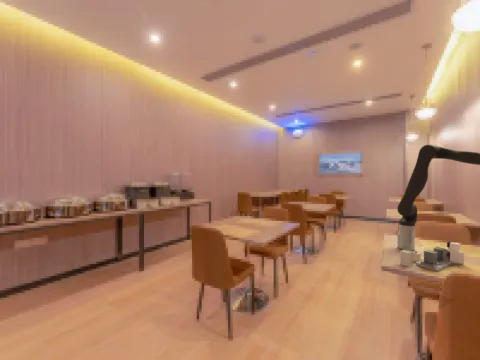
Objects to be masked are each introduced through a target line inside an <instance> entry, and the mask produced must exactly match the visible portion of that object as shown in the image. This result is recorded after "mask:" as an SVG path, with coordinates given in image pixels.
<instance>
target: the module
mask: <svg viewBox="0 0 480 360" xmlns="http://www.w3.org/2000/svg"><path fill="white" fill-rule="evenodd" d="M413 251H414V250H406V249H401V250H400V256H399V257H400V265H403V266H405V267H408V268H410V267H412V266H414V261H413V254H414V252H415V251H414V252H413Z"/></svg>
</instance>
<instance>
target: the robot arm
mask: <svg viewBox="0 0 480 360" xmlns="http://www.w3.org/2000/svg"><path fill="white" fill-rule="evenodd" d="M435 159H437V160H439V159H441V160H442V159H443V160H451V161H455V162H459V163H462V164H463V163H465V164H470V165H478V166H480V152H477V151H472V150H471V151H469V150H461V149H460V150H459V149H457V150H456V149H450V148H445V147H442V146H438V145H436V144H425V145H423V146H422V147H421V148H420V149H419V152H418V156H417V159H416V163H415V166H414V168H413V171H412V173H411V175H410V178H409V180H408V183H407V185H406V188H405V191H404V193H403V196H402V198H401V200H400V202H399V203H398V206H397V213H398V214H399V215H400V216H402V217H401V218H400V219H399V223H398V224H399V226H398V234H397V244H396V245H397V248H398V249H401V250H404V249H406V250H410V251H416V249H415V248H416V247H415V245H416V244H415V243H416V241H415V240H416V223H417V220H418V219H417V218H418V208H417V205H416V204H415V200H416V199H417V197H418V196H419V195H420V194H421V193H422V192H423V190H424V189H425V186H426V184H427V183H428V179H429V166H430V163H431V161H433V160H435Z"/></svg>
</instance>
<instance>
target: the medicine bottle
mask: <svg viewBox="0 0 480 360" xmlns="http://www.w3.org/2000/svg"><path fill="white" fill-rule="evenodd" d="M461 246H462V245H461V243H460V242H457V241H453V240H452V241H447V242H446V247H445V248H446V249H447V254H446V258H449V260H450V261H454V264H459V265H464V264H465V252H464V251H462V250H461Z"/></svg>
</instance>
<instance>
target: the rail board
mask: <svg viewBox="0 0 480 360" xmlns="http://www.w3.org/2000/svg"><path fill="white" fill-rule="evenodd" d="M446 248H447V247H441V246H436V247H433V250H429V249H427V250H426V249H425V250H424V251H423V259H422V260H421V261H419V262H415V265H416V266H418V267H421V268H424V269H427V270H430V271H434V272H439V271H441V270H443V269H446V268H448V267H450V266H453V265H454V264H455V263H454V261H450V260H449V258H446V254H447V249H446Z"/></svg>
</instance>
